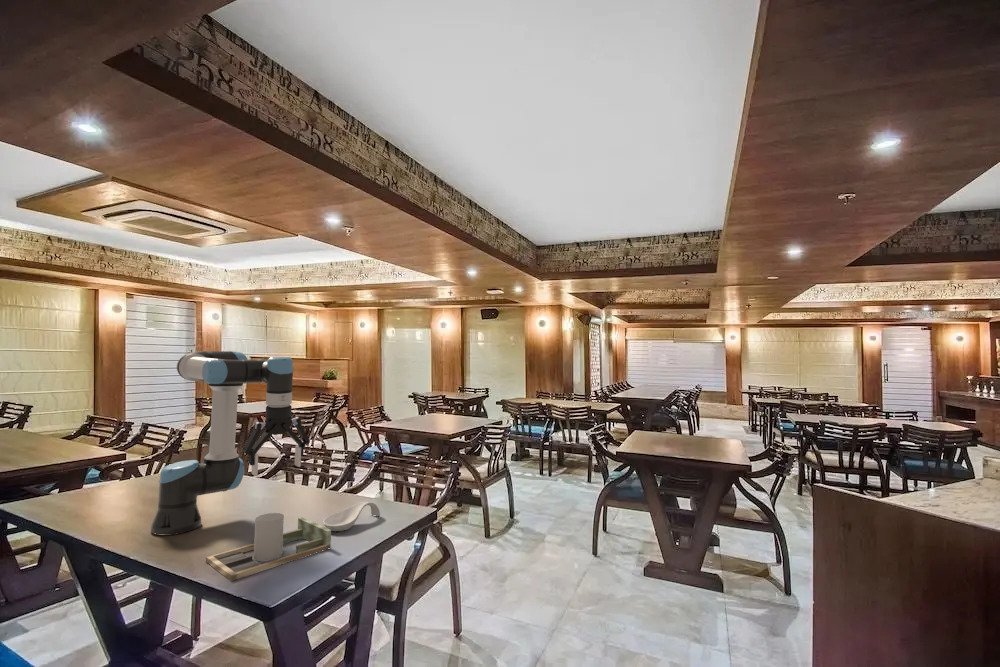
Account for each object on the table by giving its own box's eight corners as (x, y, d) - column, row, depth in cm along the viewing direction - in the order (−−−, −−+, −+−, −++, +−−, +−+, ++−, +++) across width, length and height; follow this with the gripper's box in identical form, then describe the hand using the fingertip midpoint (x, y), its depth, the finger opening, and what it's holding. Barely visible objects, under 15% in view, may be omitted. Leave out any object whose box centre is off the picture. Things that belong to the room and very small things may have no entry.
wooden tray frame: (205, 561, 144) (206, 541, 144) (301, 534, 168) (302, 517, 168) (231, 581, 132) (232, 559, 132) (330, 548, 156) (331, 530, 156)
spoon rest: (337, 537, 166) (338, 517, 166) (315, 531, 172) (316, 510, 172) (386, 519, 186) (386, 500, 186) (365, 513, 192) (366, 495, 193)
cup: (274, 548, 155) (276, 511, 156) (286, 555, 150) (288, 516, 150) (249, 556, 149) (250, 517, 149) (260, 563, 144) (262, 523, 144)
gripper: (241, 411, 140) (239, 482, 141) (321, 402, 158) (319, 465, 159) (232, 407, 145) (230, 475, 146) (311, 399, 163) (308, 459, 164)
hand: (276, 470), depth 152 cm, fingers open, 13 cm apart
